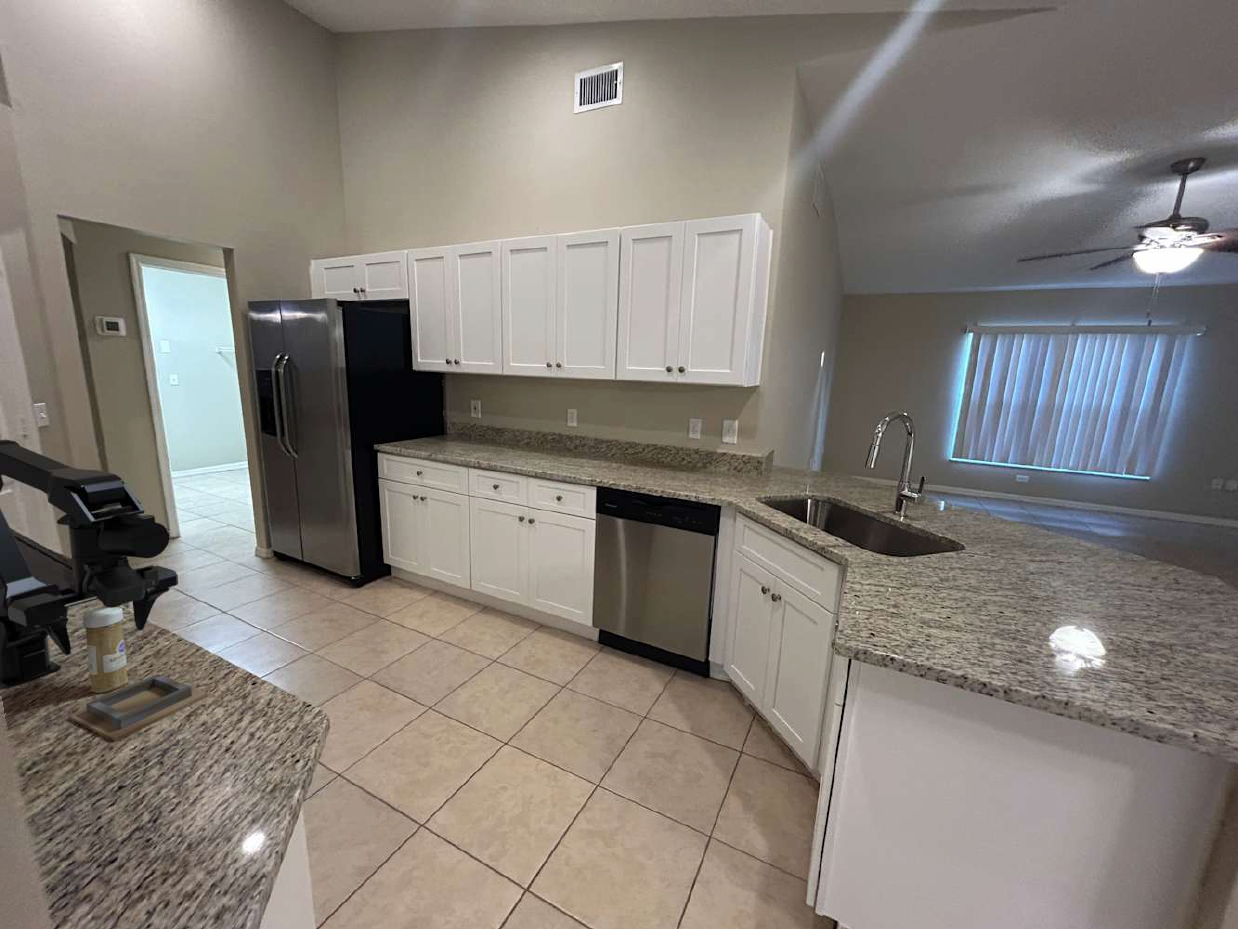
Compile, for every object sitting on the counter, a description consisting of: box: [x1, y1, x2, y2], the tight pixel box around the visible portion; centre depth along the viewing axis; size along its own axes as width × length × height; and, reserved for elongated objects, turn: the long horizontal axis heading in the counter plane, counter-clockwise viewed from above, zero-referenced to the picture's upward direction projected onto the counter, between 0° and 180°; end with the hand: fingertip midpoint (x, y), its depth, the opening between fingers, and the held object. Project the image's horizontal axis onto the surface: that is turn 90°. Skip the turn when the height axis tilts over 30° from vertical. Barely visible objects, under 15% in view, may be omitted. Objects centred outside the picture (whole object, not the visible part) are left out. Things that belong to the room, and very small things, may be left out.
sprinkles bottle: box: [82, 606, 129, 694], centre depth 82 cm, size 5×5×14 cm
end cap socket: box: [68, 673, 209, 743], centre depth 79 cm, size 12×12×2 cm
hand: (105, 641), depth 82 cm, fingers open, 9 cm apart
